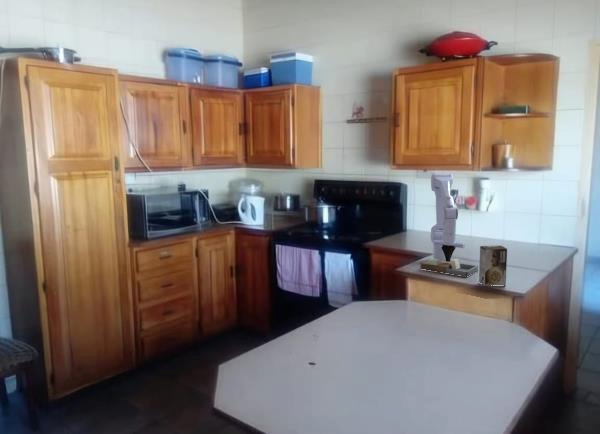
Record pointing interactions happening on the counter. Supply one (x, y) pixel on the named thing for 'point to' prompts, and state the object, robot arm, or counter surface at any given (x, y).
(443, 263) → the flat brown block
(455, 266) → the cream tile
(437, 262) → the sage tile
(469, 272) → the box
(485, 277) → the coffee box
